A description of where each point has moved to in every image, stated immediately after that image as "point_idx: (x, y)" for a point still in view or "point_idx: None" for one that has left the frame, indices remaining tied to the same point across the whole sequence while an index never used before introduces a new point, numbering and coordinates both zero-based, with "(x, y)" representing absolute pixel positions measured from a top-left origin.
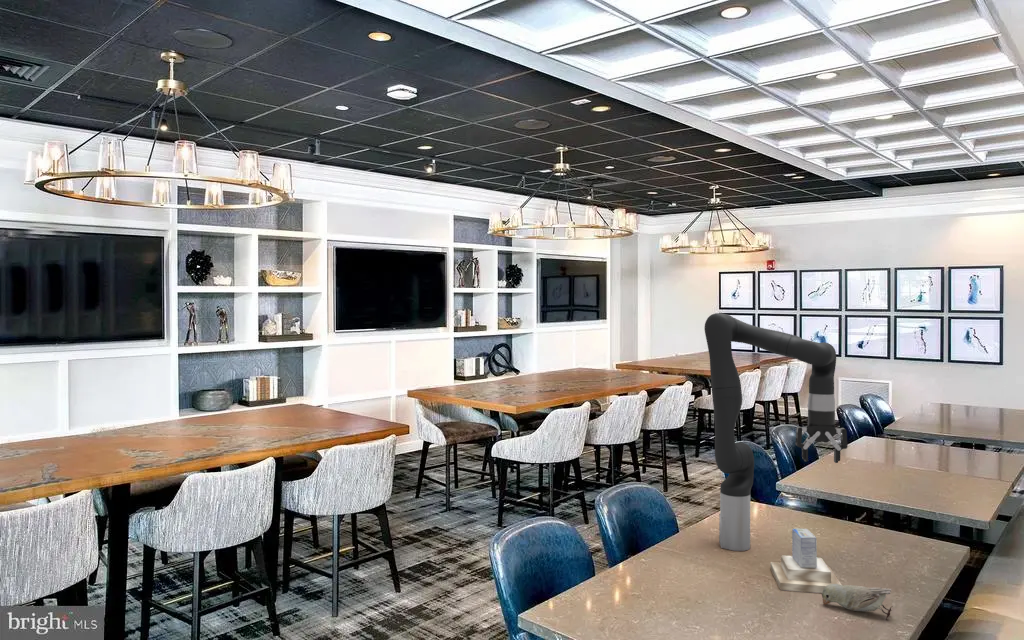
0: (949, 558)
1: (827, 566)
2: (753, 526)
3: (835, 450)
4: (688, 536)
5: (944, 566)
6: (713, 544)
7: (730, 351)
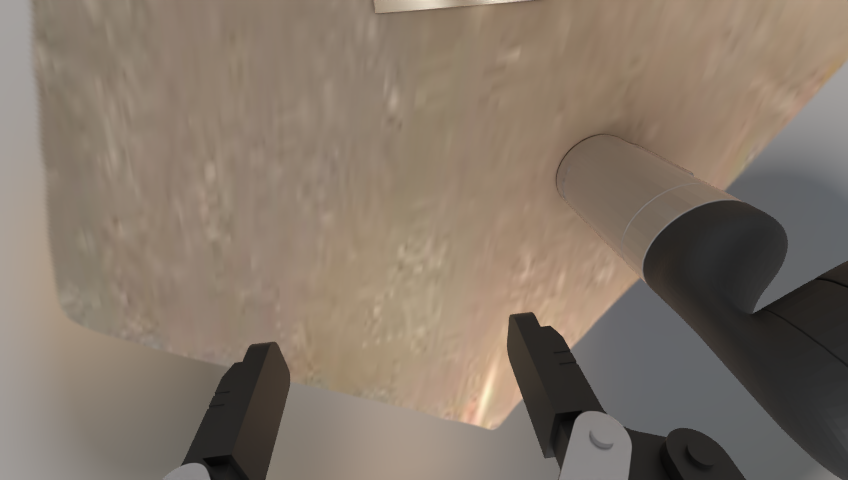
0: (70, 239)
1: (379, 3)
2: None
3: (238, 468)
4: None
5: (66, 175)
6: None
7: None
